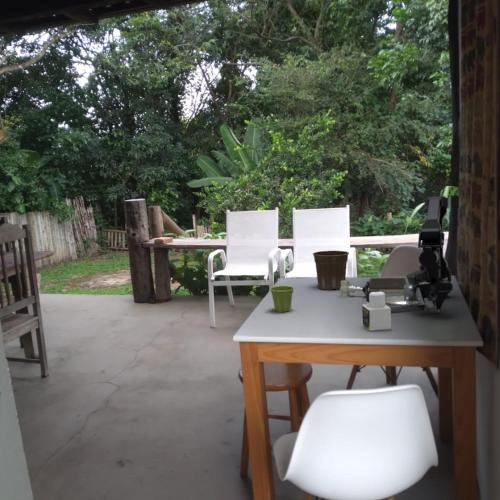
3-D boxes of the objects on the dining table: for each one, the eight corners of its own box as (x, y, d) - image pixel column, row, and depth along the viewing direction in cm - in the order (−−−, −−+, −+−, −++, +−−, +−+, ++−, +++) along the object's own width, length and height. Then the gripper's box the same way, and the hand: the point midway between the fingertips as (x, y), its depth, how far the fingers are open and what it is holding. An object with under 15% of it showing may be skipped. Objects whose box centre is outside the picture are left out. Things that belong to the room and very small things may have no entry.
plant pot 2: (355, 285, 225) (354, 250, 223) (342, 292, 211) (340, 255, 209) (322, 283, 233) (321, 250, 231) (308, 290, 220) (306, 255, 218)
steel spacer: (435, 309, 175) (434, 295, 174) (442, 312, 170) (441, 298, 169) (421, 310, 174) (421, 297, 174) (428, 314, 170) (428, 300, 169)
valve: (338, 298, 202) (367, 299, 197) (338, 282, 201) (367, 283, 196) (342, 294, 208) (370, 295, 203) (341, 279, 207) (370, 280, 202)
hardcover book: (405, 282, 226) (405, 277, 225) (407, 293, 204) (406, 288, 203) (369, 282, 230) (369, 278, 230) (367, 293, 208) (367, 288, 208)
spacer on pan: (414, 297, 184) (414, 284, 184) (420, 299, 179) (420, 286, 179) (401, 298, 184) (401, 285, 183) (407, 301, 179) (407, 287, 178)
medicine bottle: (362, 325, 161) (361, 289, 159) (383, 323, 162) (382, 288, 160) (369, 331, 154) (368, 294, 152) (391, 329, 154) (390, 292, 153)
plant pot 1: (297, 307, 189) (296, 285, 188) (291, 313, 181) (290, 291, 180) (274, 307, 193) (273, 285, 191) (267, 313, 184) (266, 290, 183)
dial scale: (411, 300, 189) (411, 294, 189) (429, 309, 175) (429, 302, 175) (369, 304, 187) (369, 298, 187) (383, 313, 173) (383, 306, 173)
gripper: (398, 260, 178) (399, 302, 180) (421, 268, 160) (422, 314, 162) (427, 258, 180) (427, 299, 182) (453, 266, 161) (454, 311, 163)
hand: (431, 306), depth 172 cm, fingers open, 9 cm apart
